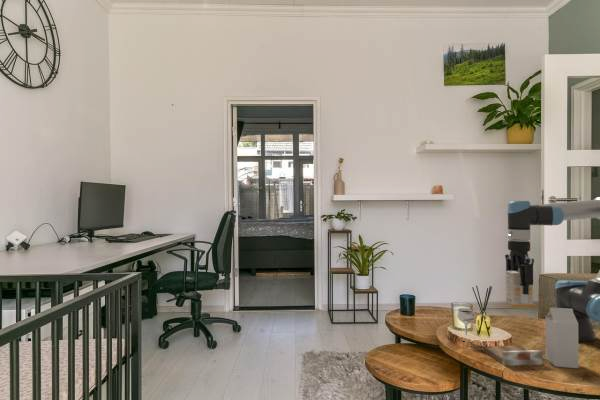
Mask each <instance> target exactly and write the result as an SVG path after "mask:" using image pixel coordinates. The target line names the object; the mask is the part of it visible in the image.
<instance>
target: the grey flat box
mask: <svg viewBox="0 0 600 400" xmlns="http://www.w3.org/2000/svg"><path fill="white" fill-rule="evenodd" d="M482 351H483V353H485V354H486V355H487V356H489V357H490V358H492V359H494V361H496V362H498V363H500V364H501V365H503V366H504V367H505V366H507V367H508V366H509V367H511V366H533V365H534V366H536V365H537V366H538V365H544V351H543V350H542V349H530V350H529V349H526V348H524V346H521V345H518V344H517V345H515V344H514V345H488V346H487V345H486V346H485V345H484V346H483V350H482Z"/></svg>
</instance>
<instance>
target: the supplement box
mask: <svg viewBox="0 0 600 400" xmlns="http://www.w3.org/2000/svg"><path fill="white" fill-rule="evenodd" d="M520 284H522V283H521V277H520V271H519V270H518V271H506V270H505V303H506V305H508V306H511V307H513V308H514V307H534V284H533V285H529V294H528V303H520Z"/></svg>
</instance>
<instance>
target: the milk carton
mask: <svg viewBox="0 0 600 400" xmlns="http://www.w3.org/2000/svg"><path fill="white" fill-rule="evenodd" d="M545 359H546V360H547V361H548V362H549V363H550V364H552V365H553V366H554V367H556V368H557V367H558V368H571V369H579V341H578V322H577V320H576V317H575V315H574V313H573V309H567V308H556V307H549V311H548V312H547V314H546V315H545Z"/></svg>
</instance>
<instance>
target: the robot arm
mask: <svg viewBox="0 0 600 400" xmlns="http://www.w3.org/2000/svg"><path fill="white" fill-rule="evenodd" d="M506 213H507V239H508V241H507V250H508V251H510V252H509V253H508V254H505V255H504V258H505V272H506V271H520V277H521V283H522V284H520V303H528V294H529V285H533V286H534V263H535V259H534V258H530V257H529V254H528V252H530V251H531V242H530V241H531V226H551V227H552V226H559V225H561V224H562V223H563V222H565V221H573V220H576V221H577V220H586V219H597V220H600V196H598V197H595V198H594V199H590V200H579V201H577V200H576V201H568V202H566V201H565V202H556V203H545V204H534V205H531V202H530V201H529V200H511V201H509V202H508V204H507V212H506ZM554 290H555V308H567V309H573V313H574V315H575V317H576V320H577V322H578V342H584V343H585V342H586V343H587V342H593V341H596V332H595V331H594V327H593V324H592V322H591V320H592V321H595V322H598V323H600V269H599V270H598V272H597V274H596V276H595V277H594V278H592V279H589V280H588V281H585V280H570V279H569V280H568V279H566V280H565V279H564V280H563V279H562V280H557V281H556V282H555V287H554Z"/></svg>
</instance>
